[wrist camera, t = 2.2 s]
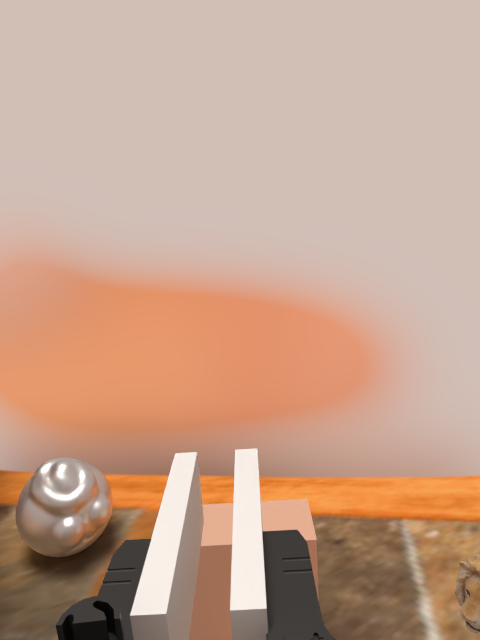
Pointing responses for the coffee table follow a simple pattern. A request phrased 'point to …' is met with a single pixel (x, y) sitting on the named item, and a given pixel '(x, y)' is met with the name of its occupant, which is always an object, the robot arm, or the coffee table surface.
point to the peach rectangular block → (216, 558)
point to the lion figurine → (469, 592)
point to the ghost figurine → (63, 507)
